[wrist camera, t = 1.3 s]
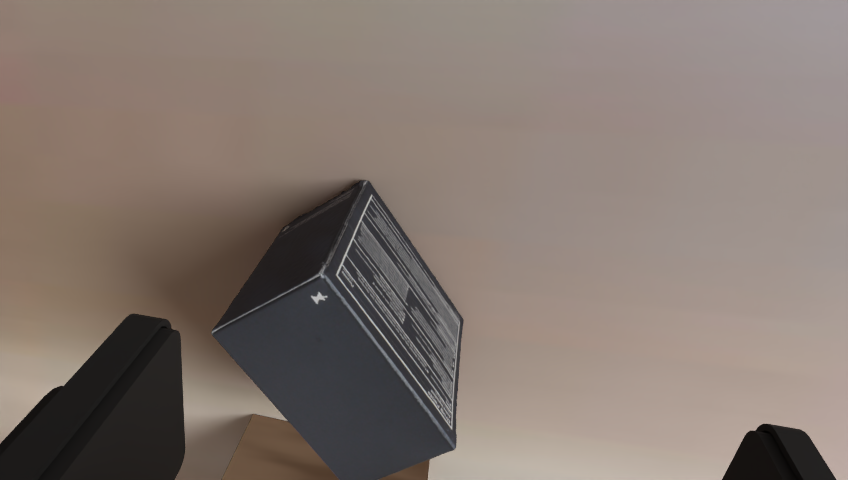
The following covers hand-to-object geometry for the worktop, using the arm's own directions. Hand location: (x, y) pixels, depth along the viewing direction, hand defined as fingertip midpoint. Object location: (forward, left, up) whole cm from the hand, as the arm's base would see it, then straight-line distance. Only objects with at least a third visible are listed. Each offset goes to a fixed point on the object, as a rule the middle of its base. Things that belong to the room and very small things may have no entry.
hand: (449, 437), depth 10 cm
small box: (-11, +3, -24) cm, 26 cm away
